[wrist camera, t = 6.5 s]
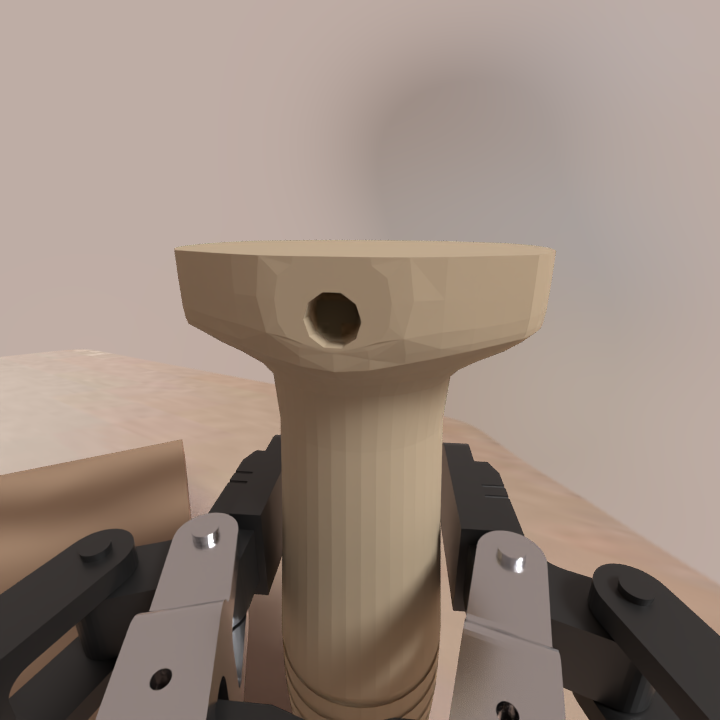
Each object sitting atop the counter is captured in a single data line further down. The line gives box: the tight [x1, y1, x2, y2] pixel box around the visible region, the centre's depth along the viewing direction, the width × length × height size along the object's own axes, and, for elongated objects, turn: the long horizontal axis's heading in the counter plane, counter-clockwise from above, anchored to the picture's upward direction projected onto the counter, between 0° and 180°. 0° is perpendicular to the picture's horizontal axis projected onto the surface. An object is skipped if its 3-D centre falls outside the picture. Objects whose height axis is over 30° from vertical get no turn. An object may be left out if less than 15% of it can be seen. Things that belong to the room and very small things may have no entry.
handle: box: [174, 240, 556, 720], centre depth 10 cm, size 5×6×15 cm
